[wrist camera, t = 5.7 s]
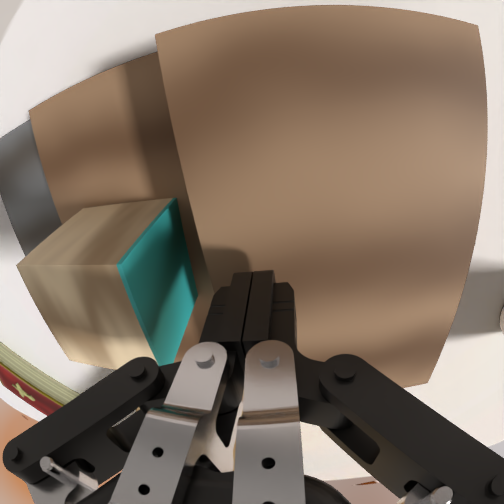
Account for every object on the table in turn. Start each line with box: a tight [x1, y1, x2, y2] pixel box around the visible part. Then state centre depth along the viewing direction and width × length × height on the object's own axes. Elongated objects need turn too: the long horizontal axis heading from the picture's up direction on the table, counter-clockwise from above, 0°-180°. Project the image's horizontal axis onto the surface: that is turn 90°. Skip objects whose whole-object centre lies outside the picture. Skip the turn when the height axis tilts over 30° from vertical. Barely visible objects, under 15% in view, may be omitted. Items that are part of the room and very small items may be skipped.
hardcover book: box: [0, 342, 80, 416], centre depth 35 cm, size 12×21×4 cm, turn 64°
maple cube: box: [16, 198, 198, 370], centre depth 14 cm, size 6×6×6 cm
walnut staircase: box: [0, 5, 487, 388], centre depth 16 cm, size 20×32×6 cm, turn 99°
